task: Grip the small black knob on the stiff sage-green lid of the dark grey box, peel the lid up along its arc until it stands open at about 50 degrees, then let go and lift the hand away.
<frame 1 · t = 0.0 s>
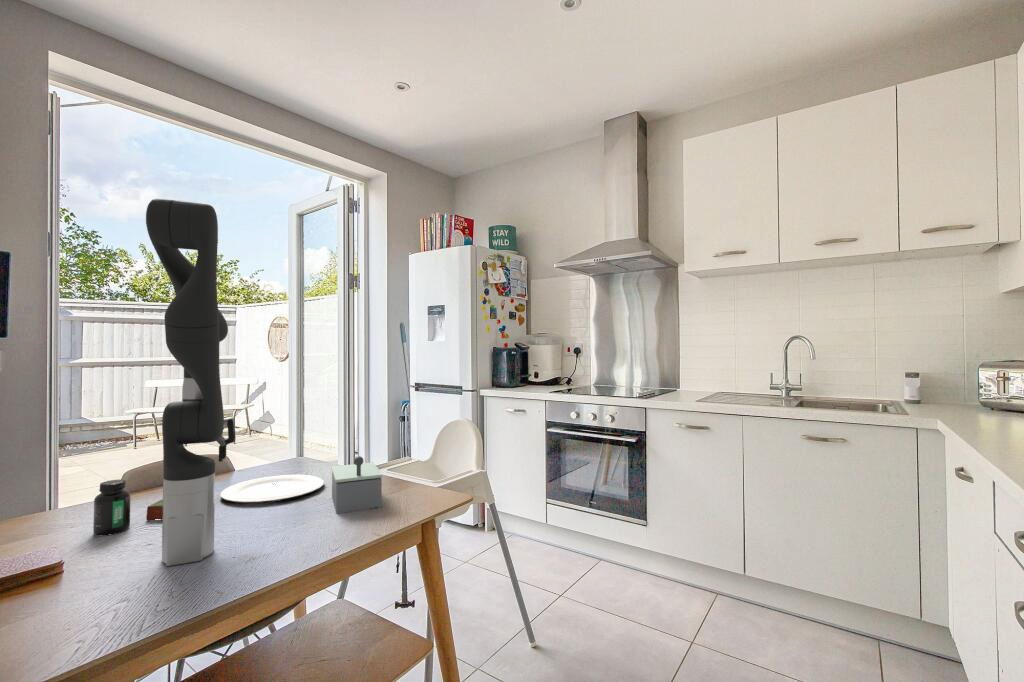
hand: (200, 462, 112), 17 cm above the table, tool pointing down, fingers open, 8 cm apart
supplement bottle: (111, 531, 113), on the table
plate: (274, 493, 145), on the table
lid: (356, 462, 135), point 11 cm above the table, hinge at 0.0°
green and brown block: (180, 512, 128), on the table
box: (355, 501, 135), on the table
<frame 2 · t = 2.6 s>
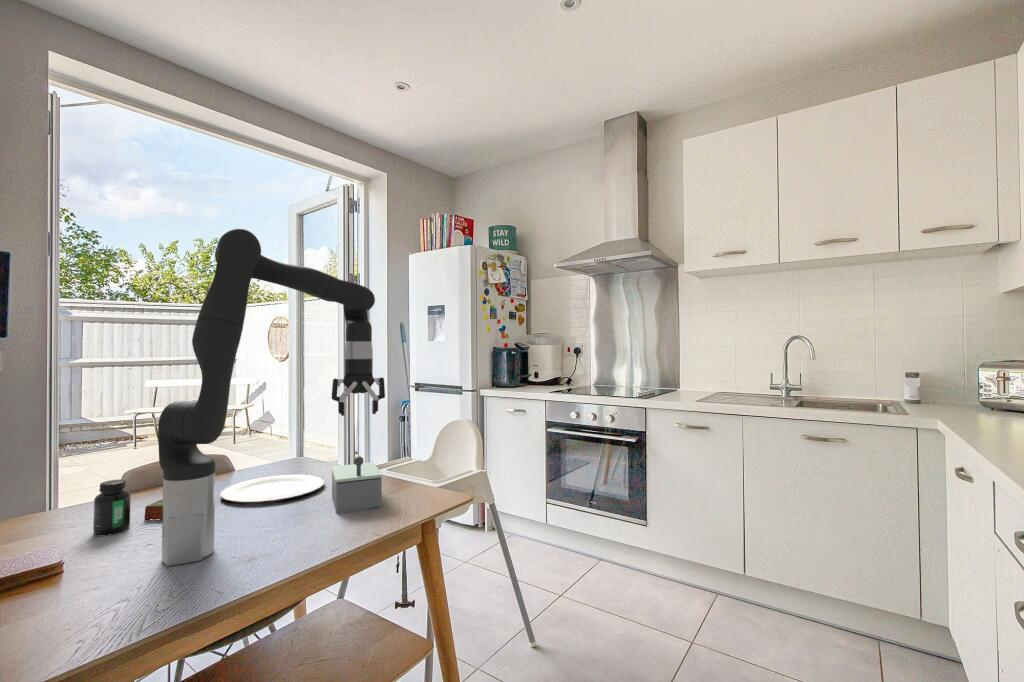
hand: (358, 414, 130), 26 cm above the table, tool pointing down, fingers open, 8 cm apart
nothing on the table moved.
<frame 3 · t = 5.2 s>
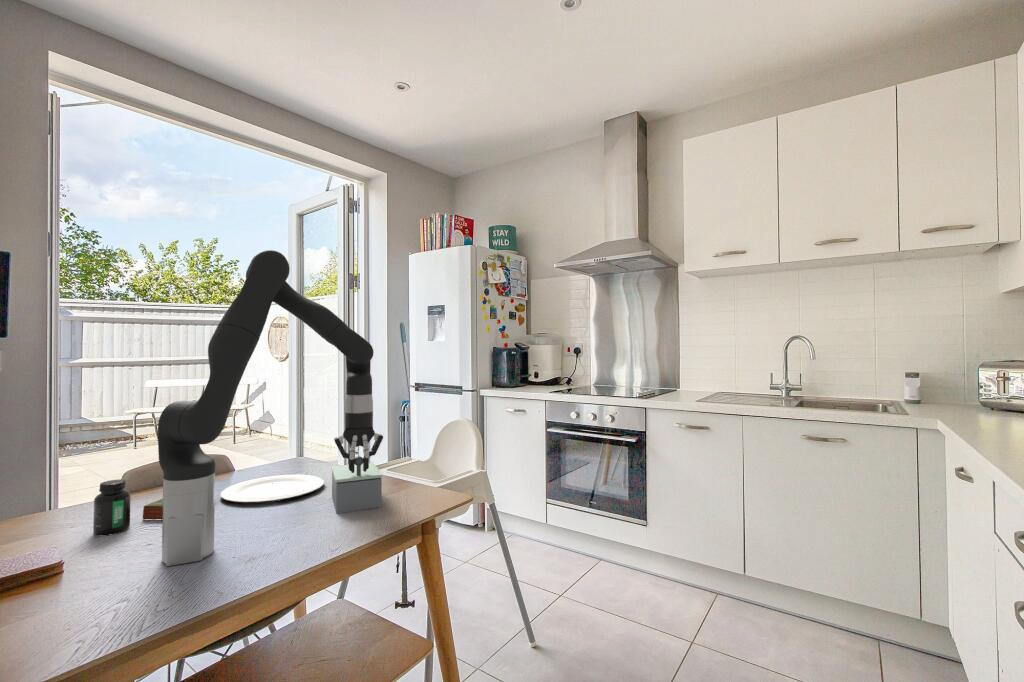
hand: (358, 471, 130), 10 cm above the table, tool pointing down, fingers closed on lid, 2 cm apart
lid: (356, 462, 135), point 11 cm above the table, hinge at 0.0°, touching gripper
everything else where it was.
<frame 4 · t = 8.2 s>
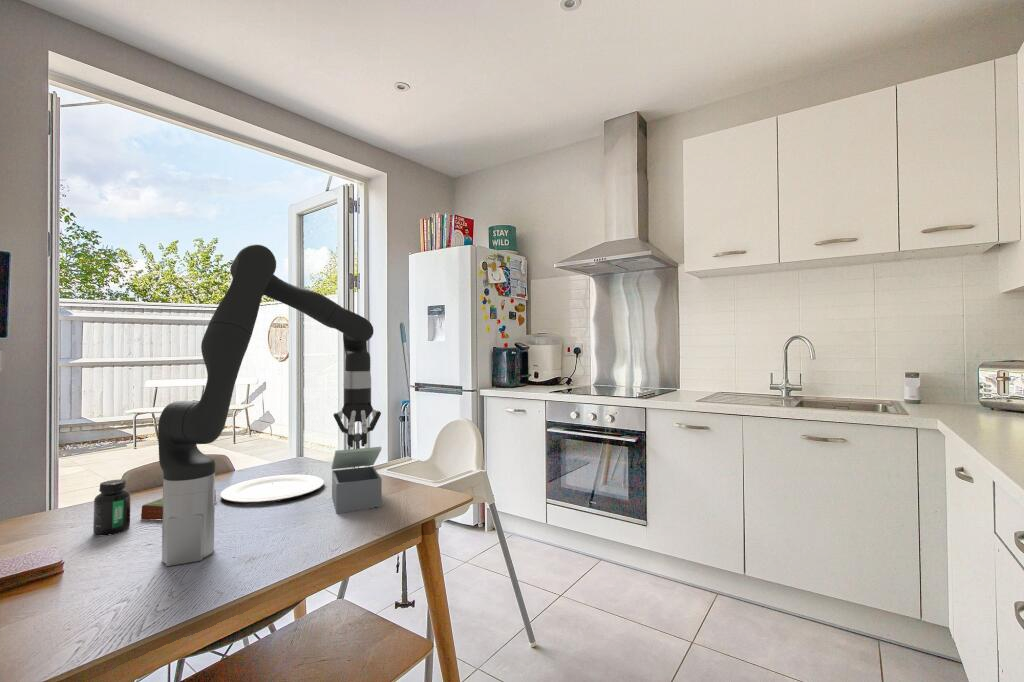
hand: (357, 446, 133), 17 cm above the table, tool pointing down, fingers closed on lid, 2 cm apart
lid: (355, 449, 137), point 15 cm above the table, hinge at 27.9°, touching gripper
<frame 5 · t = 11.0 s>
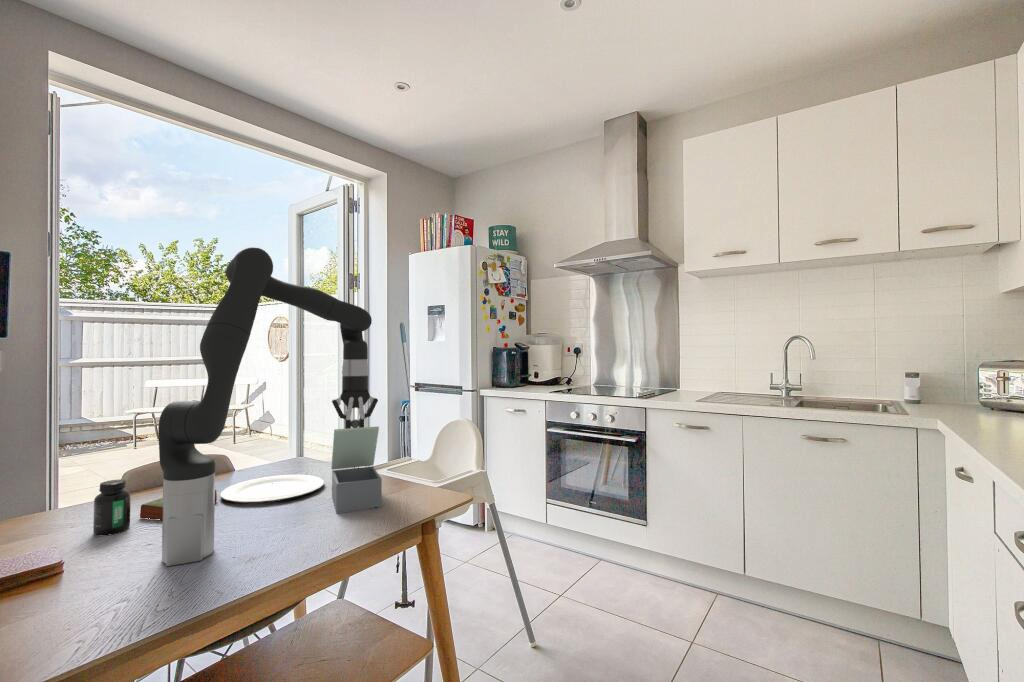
hand: (354, 431, 139), 20 cm above the table, tool pointing down, fingers closed on lid, 2 cm apart
lid: (354, 441, 140), point 17 cm above the table, hinge at 53.1°, touching gripper
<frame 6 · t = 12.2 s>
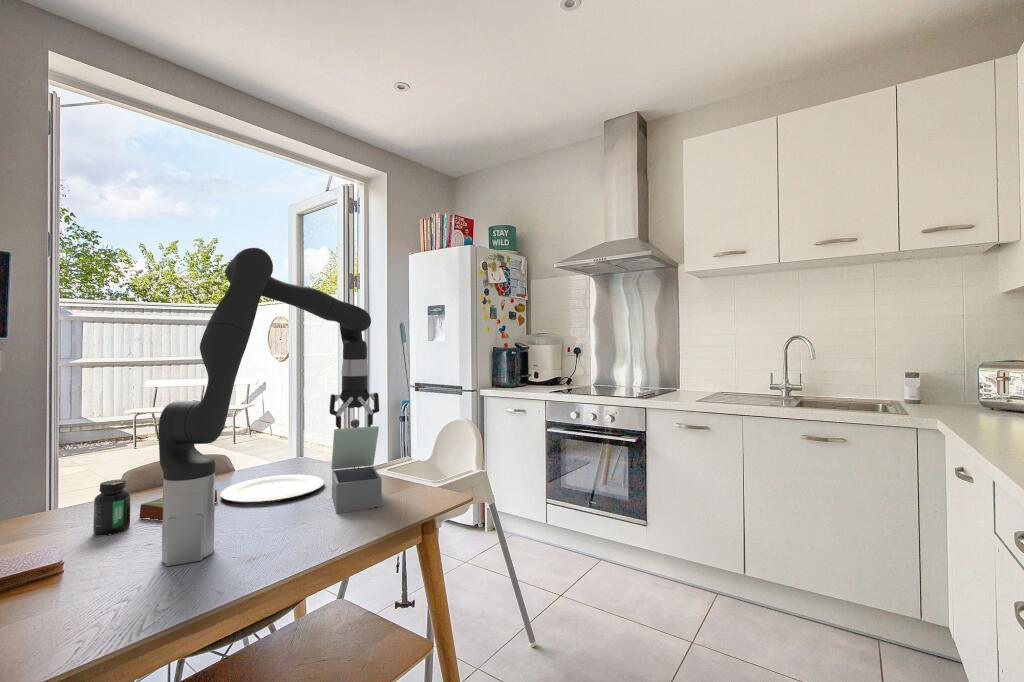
hand: (354, 427, 140), 21 cm above the table, tool pointing down, fingers open, 8 cm apart
lid: (353, 441, 140), point 17 cm above the table, hinge at 53.4°
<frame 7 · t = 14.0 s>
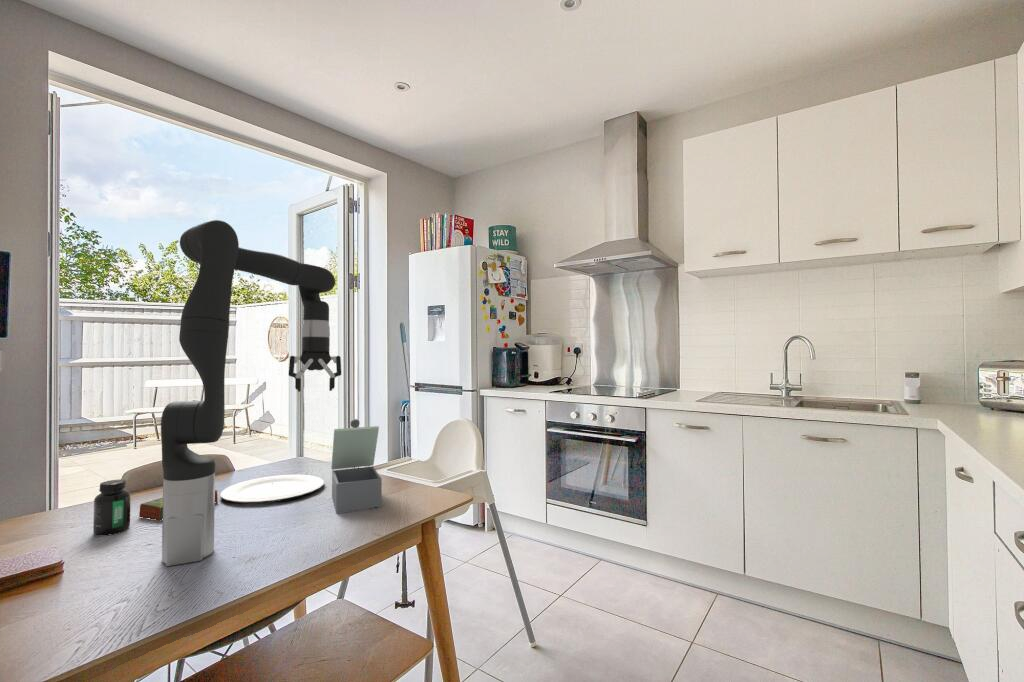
hand: (315, 391, 135), 33 cm above the table, tool pointing down, fingers open, 8 cm apart
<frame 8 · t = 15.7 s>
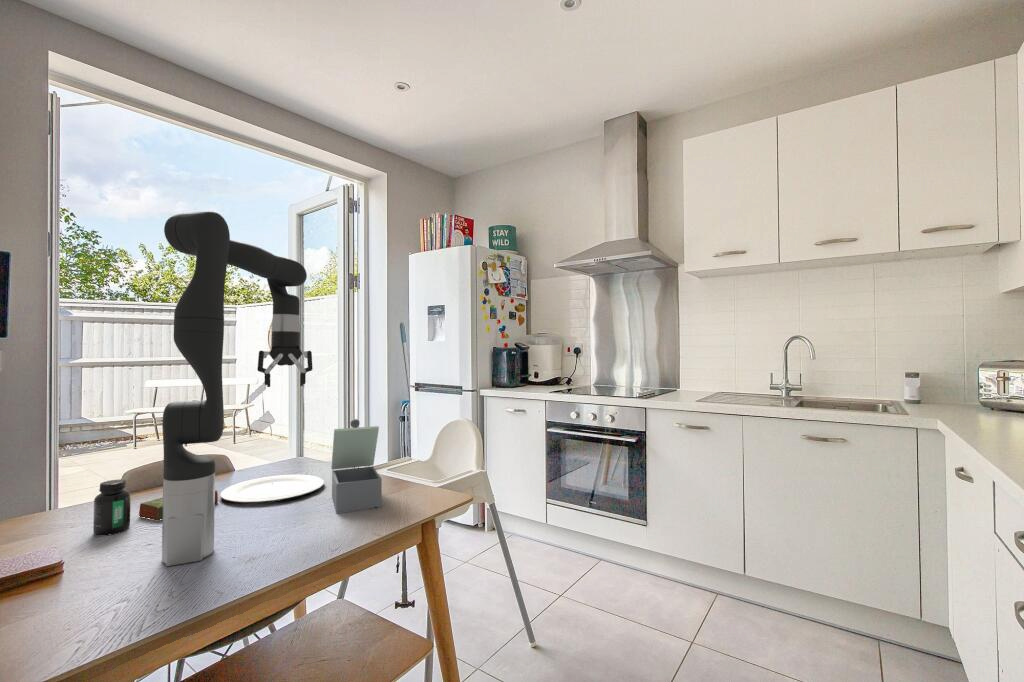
hand: (285, 386, 133), 34 cm above the table, tool pointing down, fingers open, 8 cm apart
at the end: lid at +53° (first picture: +0°); the gripper is holding nothing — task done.
